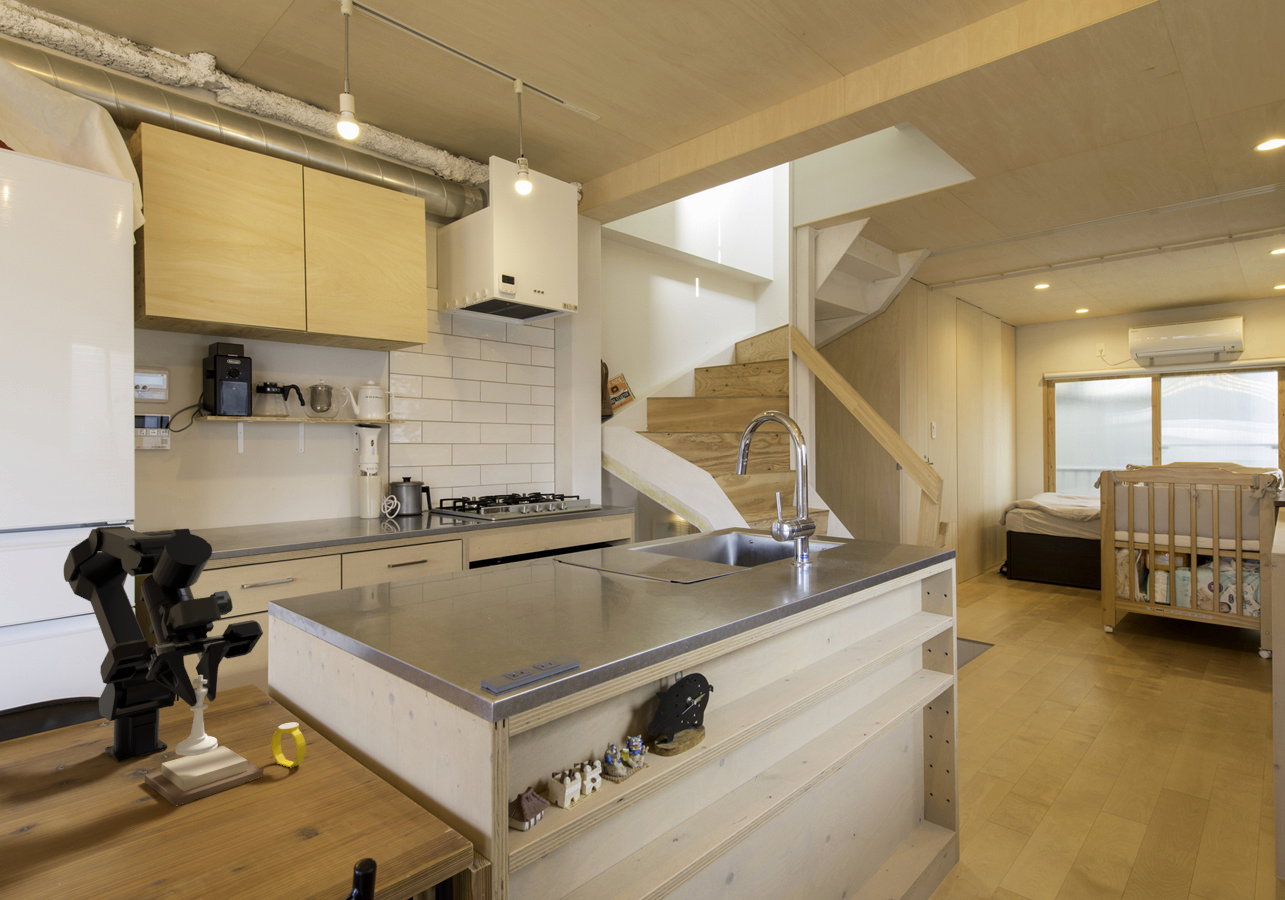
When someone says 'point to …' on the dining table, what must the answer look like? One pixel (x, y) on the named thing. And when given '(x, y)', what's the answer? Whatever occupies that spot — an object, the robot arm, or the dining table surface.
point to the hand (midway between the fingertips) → (203, 702)
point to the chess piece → (197, 726)
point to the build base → (200, 790)
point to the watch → (298, 738)
